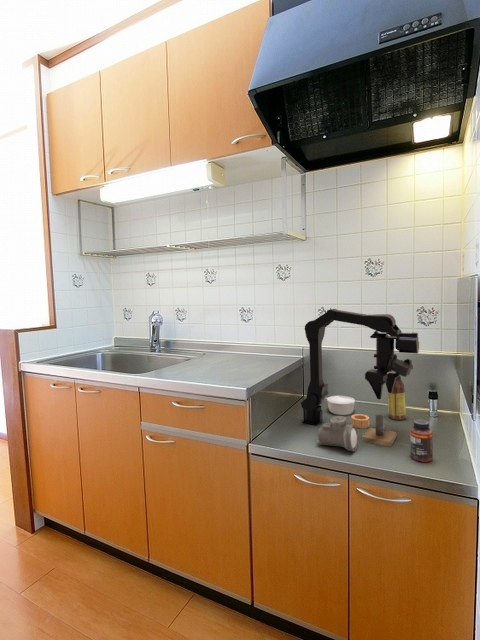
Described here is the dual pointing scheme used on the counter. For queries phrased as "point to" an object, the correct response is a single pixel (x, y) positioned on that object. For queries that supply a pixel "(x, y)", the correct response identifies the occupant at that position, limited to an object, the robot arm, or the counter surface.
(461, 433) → the counter surface
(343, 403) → the ramekin
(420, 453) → the supplement bottle
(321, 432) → the pipe fitting
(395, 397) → the sauce bottle
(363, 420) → the ring
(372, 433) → the shaft post
